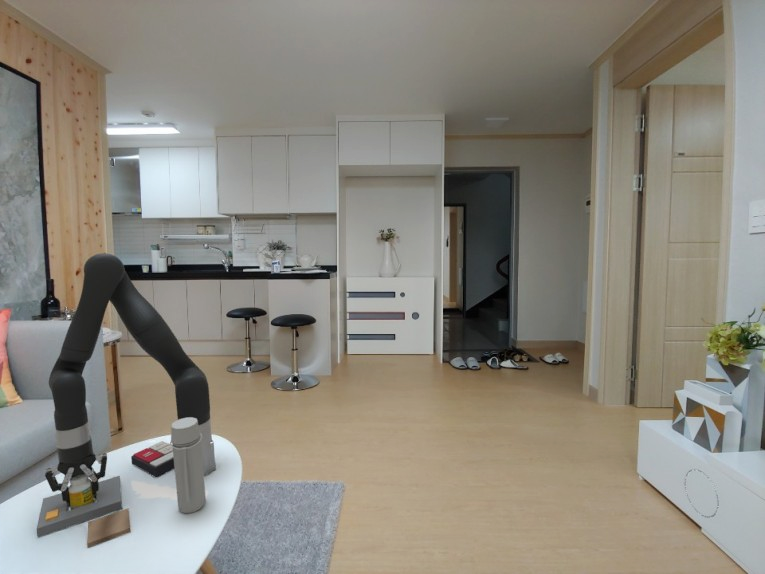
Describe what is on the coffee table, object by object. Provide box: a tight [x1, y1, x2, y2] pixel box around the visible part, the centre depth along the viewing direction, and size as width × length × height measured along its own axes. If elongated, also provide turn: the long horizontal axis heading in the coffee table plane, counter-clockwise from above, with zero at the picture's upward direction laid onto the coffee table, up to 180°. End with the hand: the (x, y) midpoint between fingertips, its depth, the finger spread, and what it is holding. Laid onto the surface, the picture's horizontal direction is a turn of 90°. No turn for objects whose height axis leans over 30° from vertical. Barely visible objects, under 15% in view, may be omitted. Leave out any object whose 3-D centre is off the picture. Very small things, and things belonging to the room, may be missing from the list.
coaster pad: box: [86, 507, 132, 549], centre depth 104 cm, size 9×9×1 cm
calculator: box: [130, 441, 175, 478], centre depth 133 cm, size 11×4×15 cm
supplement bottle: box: [68, 474, 95, 510], centre depth 111 cm, size 5×5×10 cm
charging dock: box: [36, 475, 123, 538], centre depth 111 cm, size 18×14×3 cm
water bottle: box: [169, 417, 207, 514], centre depth 109 cm, size 9×8×25 cm
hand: (81, 496), depth 111 cm, fingers closed on supplement bottle, 5 cm apart
